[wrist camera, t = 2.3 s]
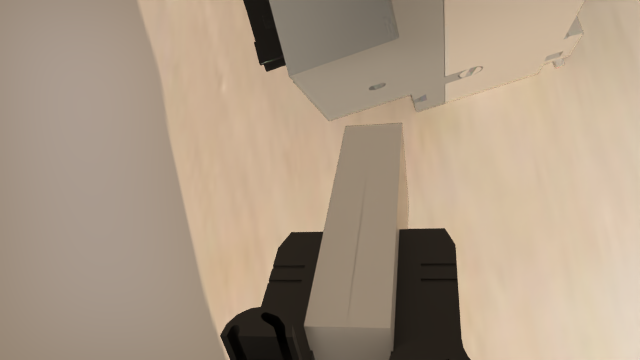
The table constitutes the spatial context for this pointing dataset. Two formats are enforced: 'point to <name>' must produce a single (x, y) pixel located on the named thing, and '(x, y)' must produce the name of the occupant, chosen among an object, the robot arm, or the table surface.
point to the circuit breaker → (409, 47)
